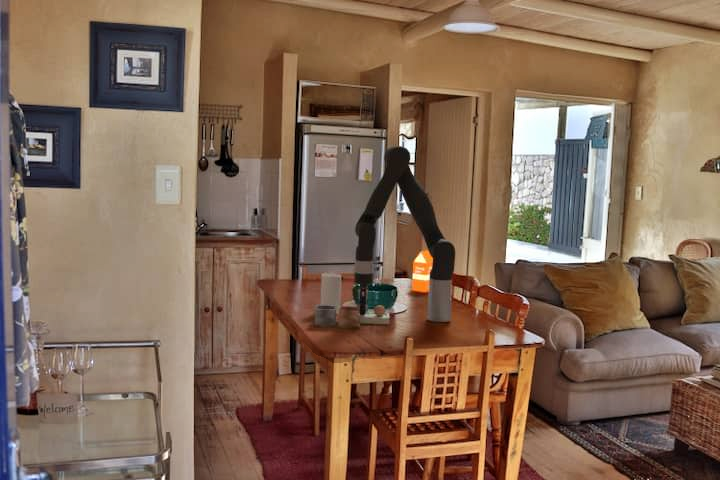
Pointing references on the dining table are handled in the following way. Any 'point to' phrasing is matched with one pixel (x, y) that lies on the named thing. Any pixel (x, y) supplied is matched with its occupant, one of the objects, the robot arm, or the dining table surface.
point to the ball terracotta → (379, 310)
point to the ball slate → (365, 308)
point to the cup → (331, 290)
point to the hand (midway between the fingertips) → (362, 313)
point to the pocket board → (374, 318)
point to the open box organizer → (346, 319)
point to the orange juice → (422, 271)
